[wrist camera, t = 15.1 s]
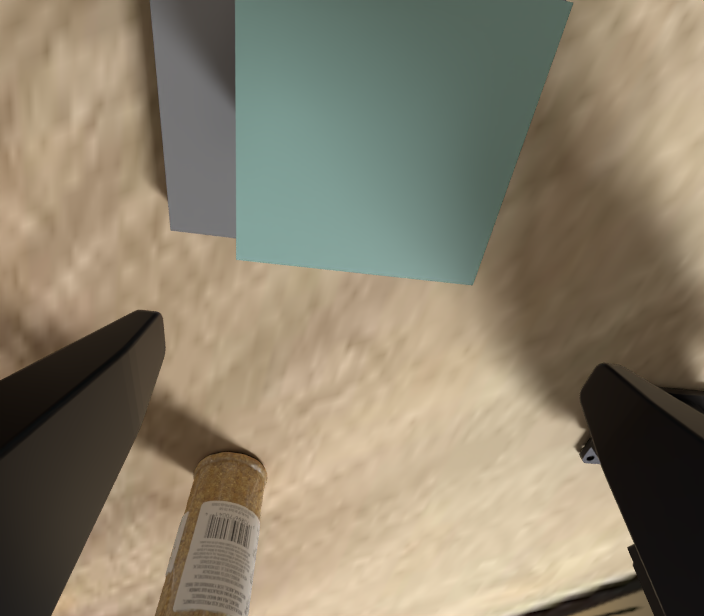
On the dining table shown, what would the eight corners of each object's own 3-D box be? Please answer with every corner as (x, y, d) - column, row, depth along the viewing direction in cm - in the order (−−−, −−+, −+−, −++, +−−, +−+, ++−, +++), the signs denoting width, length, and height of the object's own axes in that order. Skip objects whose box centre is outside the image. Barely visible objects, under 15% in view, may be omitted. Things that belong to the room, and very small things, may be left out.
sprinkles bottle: (181, 471, 27) (73, 794, 15) (228, 438, 25) (147, 771, 14) (237, 500, 29) (179, 804, 17) (284, 471, 27) (253, 785, 16)
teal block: (477, 10, 8) (573, 2, 5) (427, 203, 11) (472, 285, 7) (274, -29, 8) (234, -65, 5) (266, 182, 10) (236, 259, 7)
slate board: (587, -126, 12) (616, -143, 11) (463, 250, 19) (472, 266, 17) (149, -234, 11) (125, -268, 9) (182, 215, 17) (170, 230, 16)
